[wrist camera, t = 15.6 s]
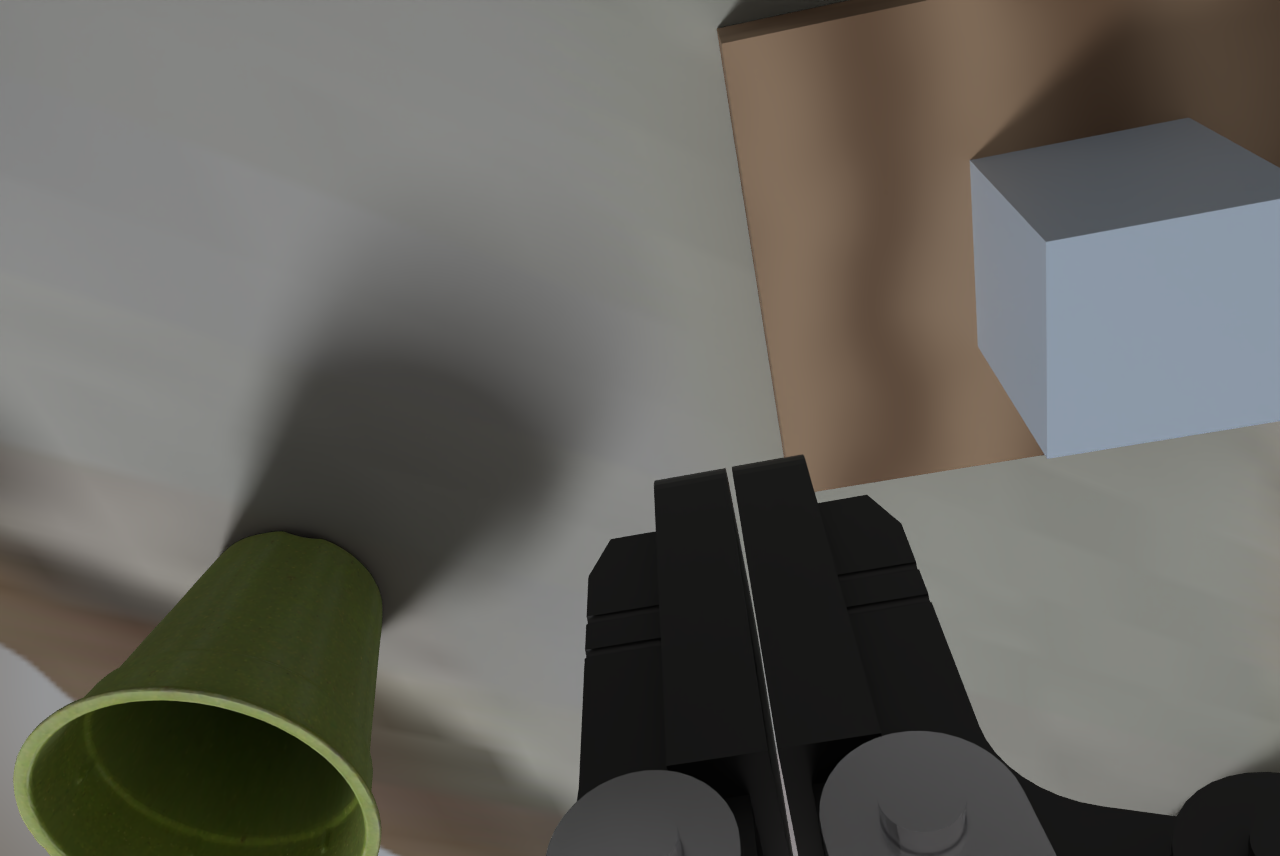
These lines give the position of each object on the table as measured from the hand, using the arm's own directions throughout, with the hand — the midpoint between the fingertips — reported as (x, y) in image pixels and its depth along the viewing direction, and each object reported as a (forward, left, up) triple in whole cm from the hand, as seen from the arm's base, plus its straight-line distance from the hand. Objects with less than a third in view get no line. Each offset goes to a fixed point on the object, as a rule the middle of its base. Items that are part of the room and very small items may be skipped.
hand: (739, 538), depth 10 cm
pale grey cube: (+11, -8, -23) cm, 26 cm away
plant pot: (-20, -19, -25) cm, 37 cm away
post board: (+11, -7, -25) cm, 29 cm away
